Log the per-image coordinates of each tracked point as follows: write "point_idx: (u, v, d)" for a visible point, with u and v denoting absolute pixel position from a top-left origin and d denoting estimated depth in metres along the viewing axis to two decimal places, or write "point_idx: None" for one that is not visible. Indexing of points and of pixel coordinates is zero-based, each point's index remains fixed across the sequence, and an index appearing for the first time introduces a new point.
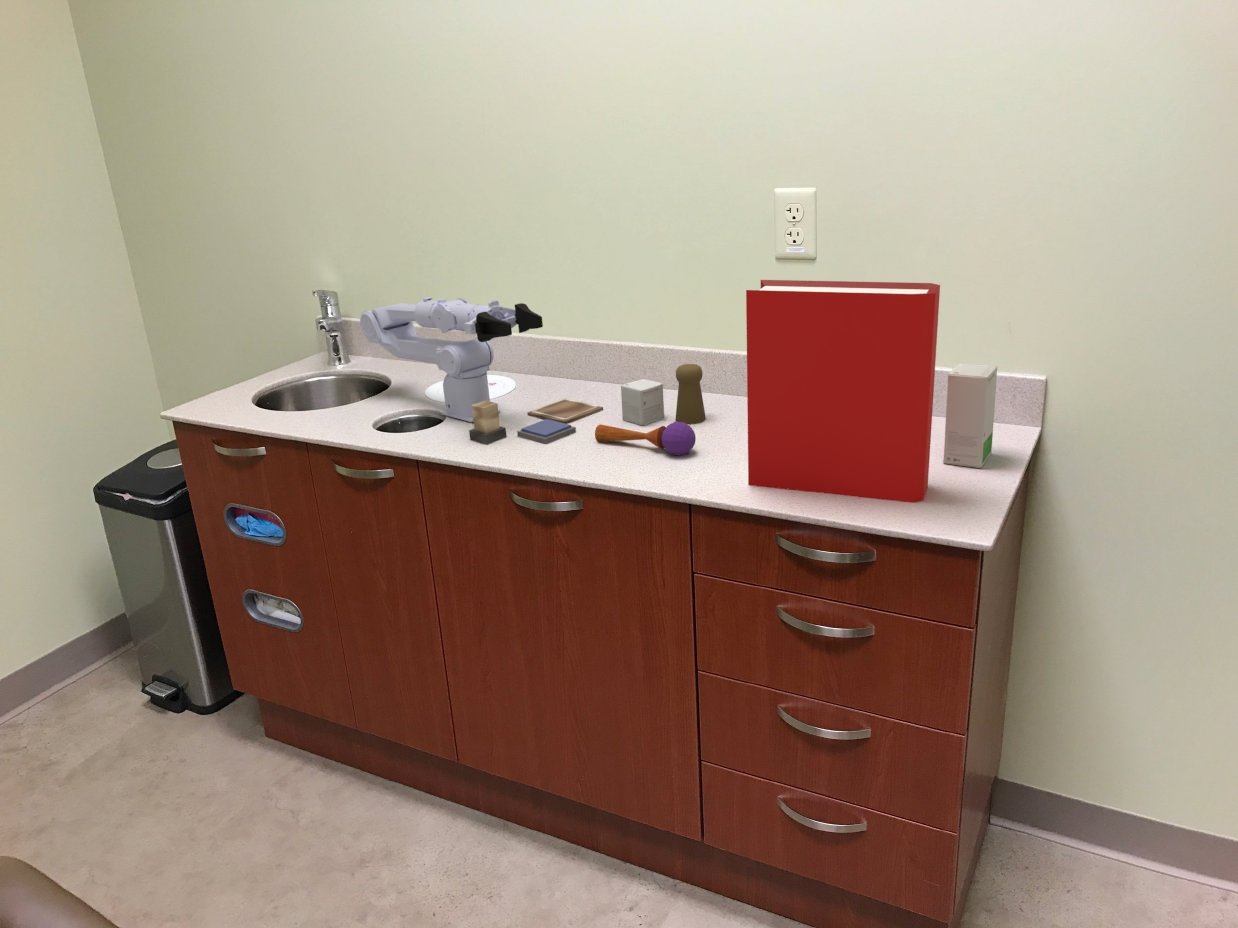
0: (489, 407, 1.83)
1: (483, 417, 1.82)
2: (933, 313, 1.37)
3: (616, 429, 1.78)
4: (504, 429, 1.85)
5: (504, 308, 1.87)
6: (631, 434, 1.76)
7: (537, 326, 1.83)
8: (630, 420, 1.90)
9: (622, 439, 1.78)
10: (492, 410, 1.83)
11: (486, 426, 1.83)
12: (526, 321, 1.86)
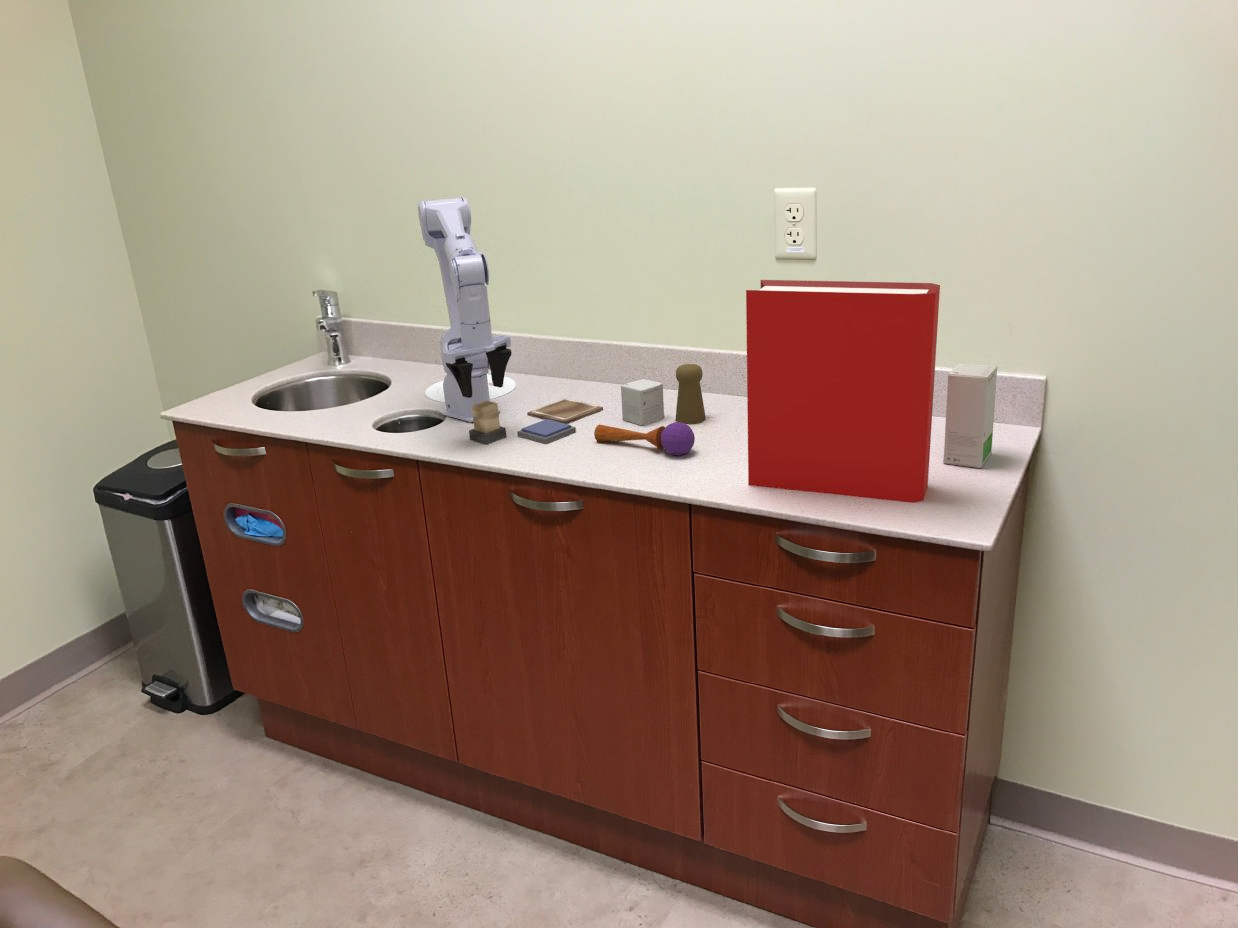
0: (489, 407, 1.83)
1: (483, 417, 1.82)
2: (933, 313, 1.37)
3: (615, 429, 1.78)
4: (504, 429, 1.85)
5: (494, 347, 1.80)
6: (630, 434, 1.76)
7: (493, 382, 1.85)
8: (630, 420, 1.90)
9: (621, 439, 1.78)
10: (492, 410, 1.83)
11: (486, 426, 1.83)
12: (494, 366, 1.84)
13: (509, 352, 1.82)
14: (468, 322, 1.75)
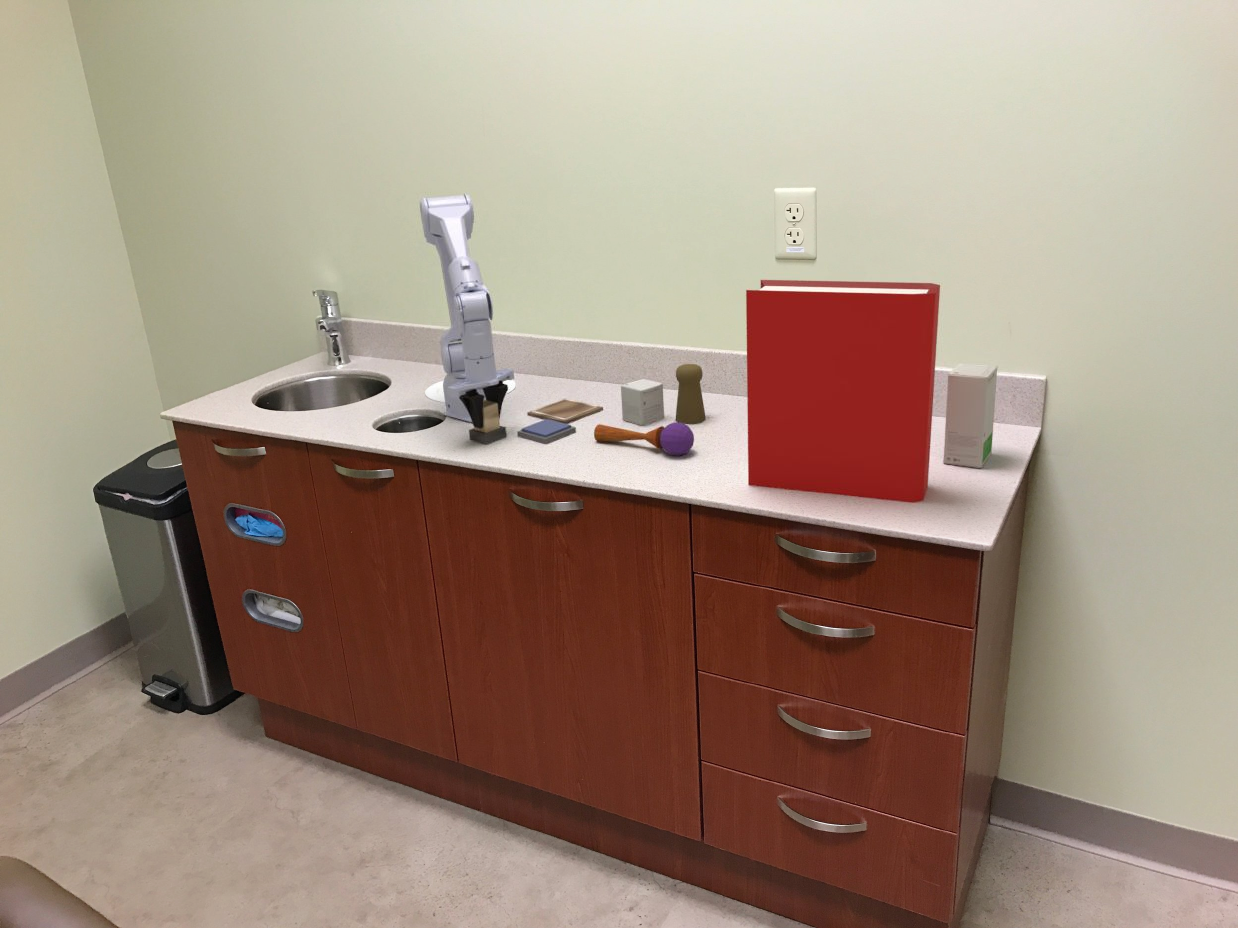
0: (489, 407, 1.83)
1: (483, 417, 1.82)
2: (933, 313, 1.37)
3: (615, 429, 1.78)
4: (504, 429, 1.85)
5: None
6: (630, 434, 1.76)
7: None
8: (630, 420, 1.90)
9: (621, 439, 1.78)
10: (492, 410, 1.83)
11: (486, 425, 1.83)
12: (491, 401, 1.85)
13: (505, 388, 1.83)
14: (472, 357, 1.78)
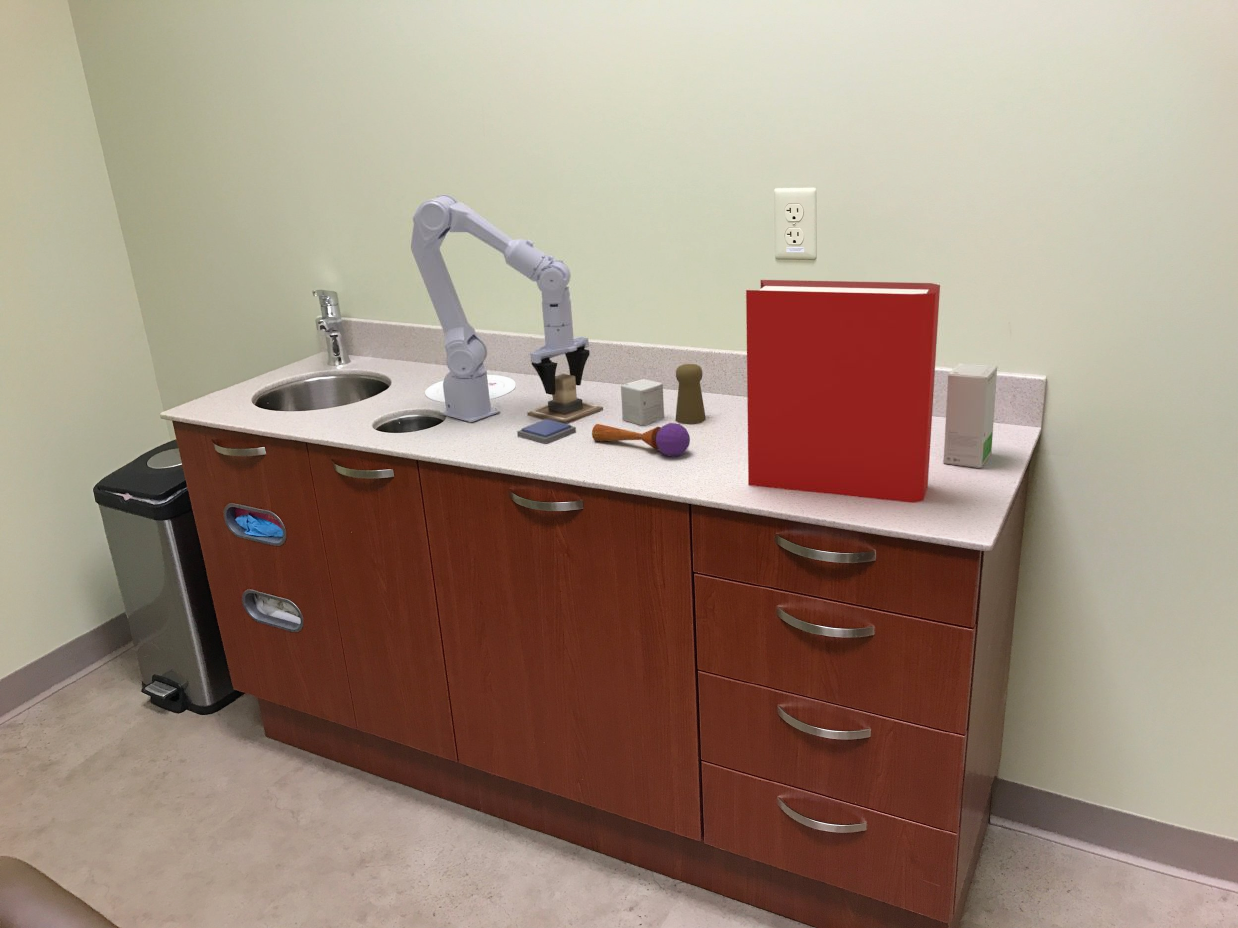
0: (568, 379, 1.94)
1: (562, 389, 1.94)
2: (933, 313, 1.37)
3: (613, 429, 1.78)
4: (581, 400, 1.97)
5: None
6: (627, 434, 1.76)
7: None
8: (630, 420, 1.90)
9: (618, 439, 1.78)
10: (570, 382, 1.95)
11: (565, 397, 1.95)
12: (573, 365, 1.98)
13: (588, 352, 1.96)
14: (568, 323, 1.90)
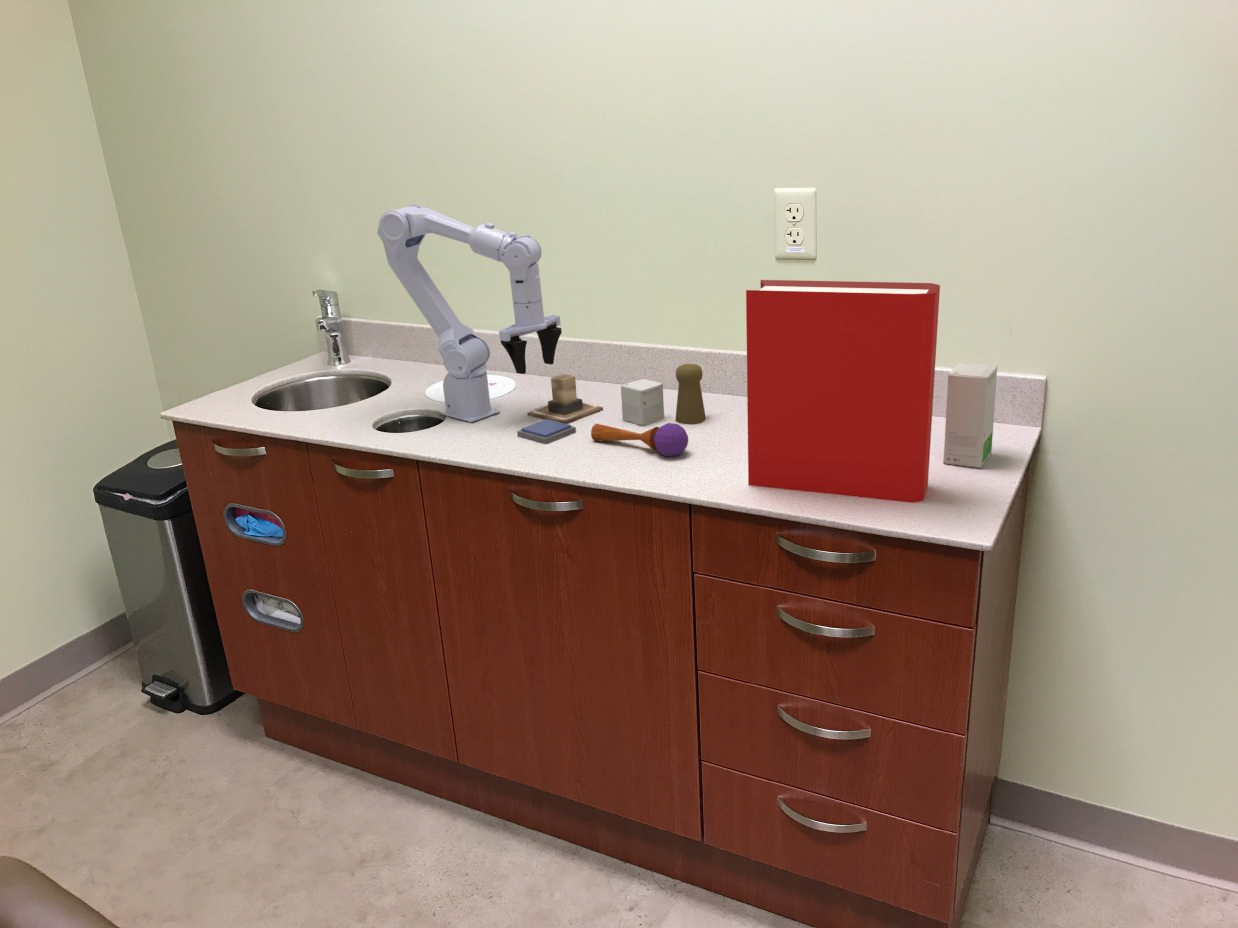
0: (568, 379, 1.94)
1: (562, 389, 1.94)
2: (933, 313, 1.37)
3: (611, 429, 1.78)
4: (581, 400, 1.97)
5: None
6: (625, 434, 1.76)
7: (544, 360, 1.95)
8: (630, 420, 1.90)
9: (617, 439, 1.78)
10: (570, 382, 1.95)
11: (565, 397, 1.95)
12: (545, 344, 1.94)
13: (559, 330, 1.92)
14: (535, 300, 1.85)
